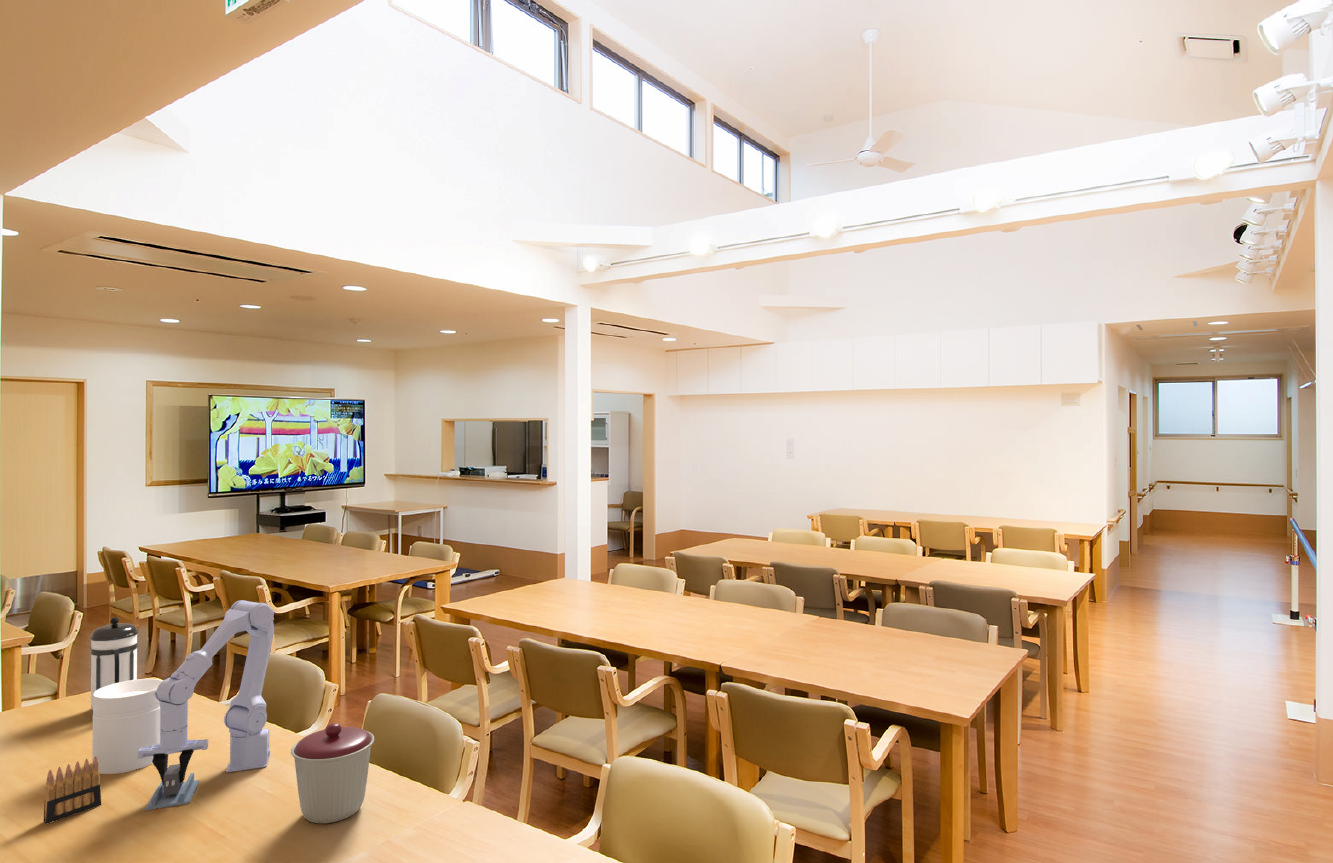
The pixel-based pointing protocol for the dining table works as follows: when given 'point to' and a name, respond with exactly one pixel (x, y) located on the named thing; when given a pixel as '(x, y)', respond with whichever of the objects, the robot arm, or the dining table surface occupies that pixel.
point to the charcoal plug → (172, 780)
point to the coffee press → (113, 654)
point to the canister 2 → (332, 772)
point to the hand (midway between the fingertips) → (173, 782)
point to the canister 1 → (125, 724)
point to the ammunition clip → (72, 792)
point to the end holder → (175, 799)
